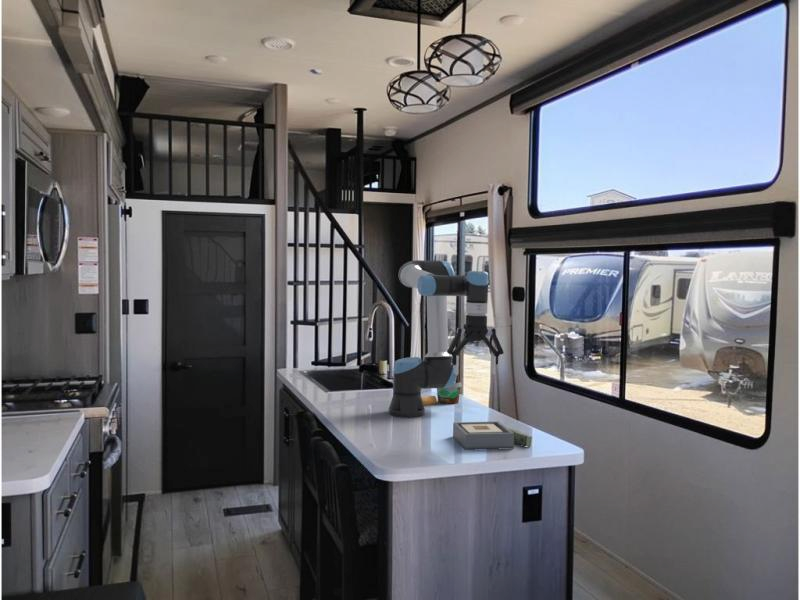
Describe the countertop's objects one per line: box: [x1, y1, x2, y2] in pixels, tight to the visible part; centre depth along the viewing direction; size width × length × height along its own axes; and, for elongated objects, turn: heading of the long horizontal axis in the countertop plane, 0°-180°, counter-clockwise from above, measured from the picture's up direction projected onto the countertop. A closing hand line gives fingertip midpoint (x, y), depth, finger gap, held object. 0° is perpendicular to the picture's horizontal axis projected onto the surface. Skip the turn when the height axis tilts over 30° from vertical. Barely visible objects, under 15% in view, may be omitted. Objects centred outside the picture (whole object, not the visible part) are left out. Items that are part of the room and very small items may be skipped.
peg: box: [421, 395, 438, 406], centre depth 284 cm, size 4×4×12 cm
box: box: [452, 420, 515, 451], centre depth 224 cm, size 17×17×6 cm
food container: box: [436, 381, 463, 405], centre depth 288 cm, size 12×6×10 cm, turn 76°
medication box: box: [507, 427, 533, 447], centre depth 225 cm, size 12×3×4 cm, turn 31°
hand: (474, 373), depth 228 cm, fingers open, 13 cm apart
